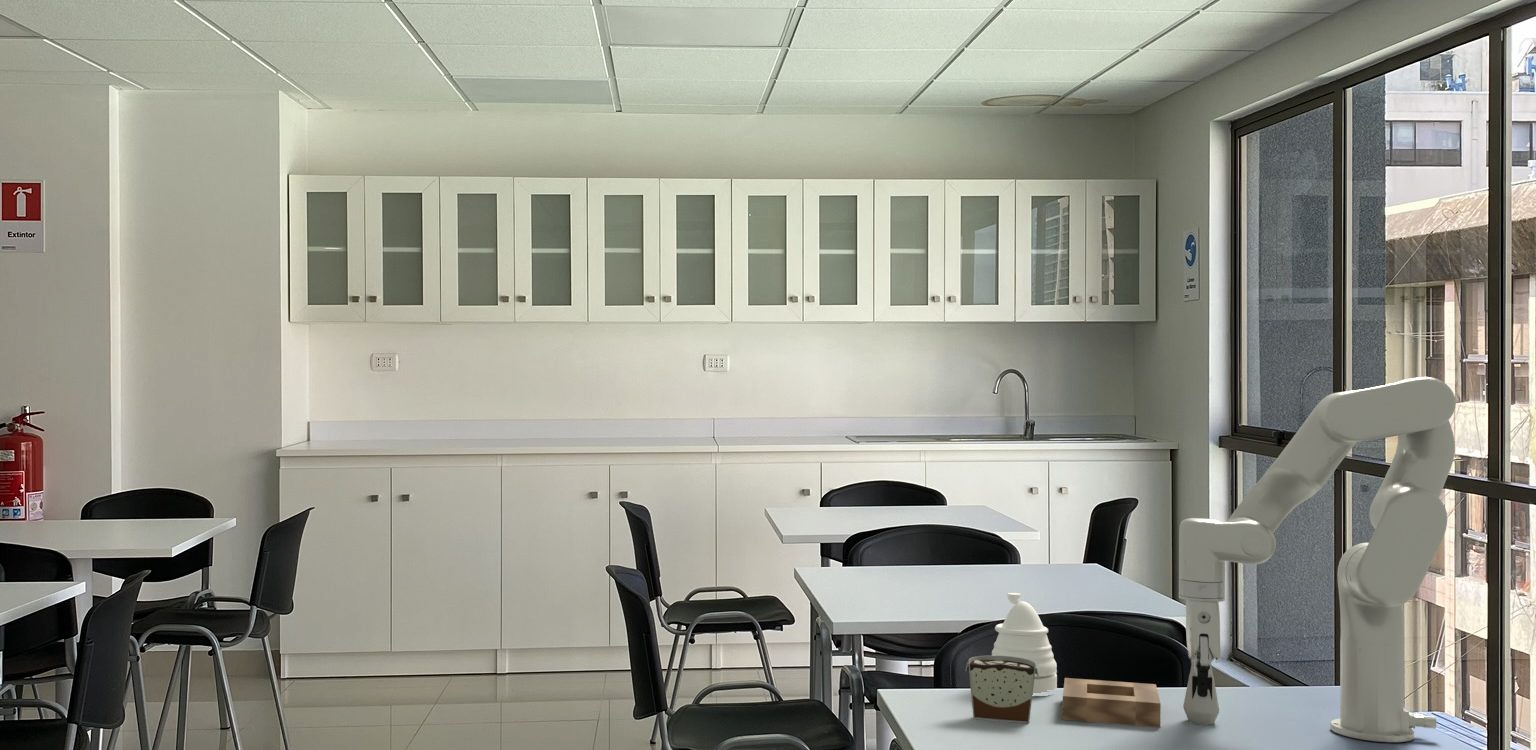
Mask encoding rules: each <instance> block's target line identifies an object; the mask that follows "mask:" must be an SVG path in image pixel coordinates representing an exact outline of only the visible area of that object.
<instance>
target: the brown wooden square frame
mask: <svg viewBox="0 0 1536 750" xmlns="http://www.w3.org/2000/svg"><path fill="white" fill-rule="evenodd" d="M1063 681H1064V683H1063V692H1062V720H1065V721H1076V722H1077V721H1079V722H1087V723H1089V722H1090V723H1099V724H1100V723H1101V724H1112V725H1114V724H1116V725H1125V726H1138V727H1139V726H1141V727H1149V728H1151V727H1152V728H1161V710H1162V709H1161V707H1162V705H1161V700H1160V697H1159V693H1158V687H1157V684H1156V683H1155V684H1154V683H1142V682H1141V683H1140V682H1128V681H1127V682H1126V681H1114V680H1113V681H1112V680H1101V679H1084V678H1073V677H1072V678H1071V677H1070V678H1069V677H1064V680H1063Z"/></svg>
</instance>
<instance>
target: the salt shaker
mask: <svg viewBox="0 0 1536 750" xmlns="http://www.w3.org/2000/svg"><path fill="white" fill-rule="evenodd" d="M1187 654H1188V655H1187V656H1188V658H1189V659H1190V660H1191V666H1190V671H1189V675H1188V681H1187V687H1186V690H1185V691H1186V692H1185V695H1184V699H1183V700H1184V701H1183V706H1182V708H1183V710H1184V713H1185V716H1186V717H1187V720H1188V723H1190V724H1194V725H1195V724H1196V725H1202V726H1204V725H1205V726H1210V725H1214V724H1215V723H1216V720H1217V718H1218V716H1219V713H1220V706H1219V700H1218V699H1219V698H1218V694H1217V689H1216V684H1215V683H1216V682H1215V678H1214V673H1213V672H1214V671H1213V666H1212V664H1211V677H1212V700H1211V696H1210V691H1209V690H1208V694H1207V696H1206V697H1200V696H1199V695H1198V693H1197V687H1196V691H1195V694H1194V697H1193V699H1192V676H1194V659H1193V658H1192V657H1191V656H1190V654H1189V650H1188V649H1187ZM1197 658H1200V655H1198V654H1197ZM1208 659H1209V655H1208ZM1214 659H1215V658H1214V657H1213V655H1212V652H1211V662H1212V661H1214ZM1198 663H1200V662H1198Z"/></svg>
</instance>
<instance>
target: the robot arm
mask: <svg viewBox="0 0 1536 750" xmlns="http://www.w3.org/2000/svg"><path fill="white" fill-rule="evenodd" d="M1456 405H1457V401H1456V396H1455V393H1454V391H1453V390H1452V388H1451V387H1450V386H1449V385H1448V384H1447V383H1445V382H1444V381H1442V380H1441V379H1439V378H1435V377H1429V376H1420V377H1411V378H1405V379H1402V380H1399V381H1396V382H1394V383H1393V382H1392V383H1388V384H1385V385H1379V386H1373V387H1369V388H1364V389H1363V388H1362V389H1356V390H1348V391H1340V392H1339V391H1338V392H1333V393H1331V394H1328V395H1327V396H1325V397H1324V398H1322V399H1321V400H1320V401H1319V402H1318V404H1317V405H1316V406H1315V407H1314V409H1312V411H1311V412H1310V414H1309V415H1308V417H1307V418H1306V419H1305V421H1304V422H1303V423H1302V424H1301V426H1300V427H1299V429H1298V430H1297V431H1296V433H1295V434H1293V437H1292V438H1291V440H1290V441H1289V442H1288V444H1287V445H1285V447H1284V449H1283V450H1282V451H1281V453H1280V454H1279V455H1278V457H1277V458H1276V459H1275V460H1274V461H1273V463H1272V464H1271V465H1270V466H1269V467H1268V468H1267V470H1266V471H1265V472H1264V474H1263V475H1262V476H1261V478H1260V479H1258V481H1257V482H1256V483H1255V484H1254V486H1252V488H1251V489H1250V490H1249V491H1248V493H1247V494H1246V495H1245V497H1244V498H1243V499H1242V500H1241V502H1240V503H1239V505H1238V506H1237V507H1236V508H1235V510H1234V511H1233V512H1232V514H1231V515H1230V516H1229V518H1228V519H1227V521H1226V522H1225V521H1224V522H1222V521H1221V520H1218V519H1215V518H1200V517H1190V518H1185V519H1183V520H1181V522H1180V524H1179V528H1178V529H1179V531H1178V532H1179V535H1178V541H1179V542H1178V543H1179V545H1178V546H1179V547H1178V550H1179V551H1178V598H1179V599H1181V600H1184V601H1185V632H1186V633H1185V634H1186V635H1185V636H1186V647H1187V651H1188V650H1189V654H1190V656H1191V657H1192V658H1193V659H1194V676H1192V699H1193V697H1194V694H1195V691H1196V687H1197V693H1198V695H1199V696H1200V697H1206V696H1207V694H1208V690H1209V691H1210V696H1211V700H1212V677H1211V665H1212V661H1211V652H1212V655H1213V657H1214V659H1215V661H1220V660H1221V658H1222V656H1221V654H1222V653H1221V652H1222V651H1221V621H1220V620H1221V615H1220V612H1221V611H1220V602H1225V601H1226V562H1231V563H1236V564H1237V563H1238V564H1243V565H1250V566H1254V565H1256V566H1257V565H1260V564H1263V563H1265V562H1267V561H1269V560H1270V559H1271V557H1273V555H1274V553H1275V551H1276V547H1277V541H1276V536H1275V535H1274V533H1275V532H1276V530H1277V529H1278V528H1279V526H1280V525H1281V523H1282V522H1284V520H1285V519H1286V517H1288V515H1289V514H1291V512H1292V511H1293V510H1295V509H1296V508H1297V507H1298V506H1299V505H1301V504H1302V503H1304V502H1305V501H1307V500H1308V499H1310V498H1311V497H1314V495H1316V494H1317V493H1318V492H1319V491H1320V490H1322V488H1323V487H1324V486H1325V485H1326V484H1327V482H1328V481H1329V479H1330V478H1331V476H1332V475H1333V474H1334V472H1335V471H1336V469H1337V468H1338V466H1339V465H1340V464H1341V462H1342V461H1343V460H1344V459H1345V457H1346V456H1347V455H1348V454H1349V452H1351V449H1353V447H1354V446H1355V445H1356V443H1360V442H1370V441H1375V440H1382V439H1387V438H1393V437H1397V446H1396V450H1395V453H1394V456H1393V458H1392V460H1391V463H1390V467H1388V469H1387V472H1386V474H1385V477H1384V478H1383V480H1382V482H1381V485H1380V487H1379V489H1378V490H1377V492H1376V494H1375V497H1374V498H1373V500H1372V502H1371V505H1370V507H1369V515H1368V516H1369V521H1370V524H1371V525H1372V528H1373V529H1374V531H1373V533H1372V536H1371V538H1370V540H1369V542H1361V543H1357V544H1355V545H1353V546H1351V547H1350V548H1348V549H1347V550H1346V551H1345V552H1344V553H1343V554H1342V555H1341V557H1340V560H1339V562H1338V566H1337V573H1336V575H1337V578H1336V579H1337V588H1338V598H1339V611H1340V612H1339V614H1340V615H1339V616H1340V637H1339V639H1340V641H1339V642H1340V645H1339V646H1340V648H1339V649H1340V651H1339V652H1340V653H1339V655H1340V663H1339V664H1340V667H1339V668H1340V669H1339V671H1340V672H1339V673H1340V677H1339V678H1340V682H1339V683H1340V684H1339V686H1340V687H1339V688H1340V689H1339V695H1340V699H1339V700H1340V702H1339V704H1340V706H1339V707H1340V711H1339V712H1340V713H1339V714H1340V715H1339V717H1340V718H1339V717H1338V718H1335V719H1332V720H1330V723H1329V727H1330V728H1329V729H1330V730H1332V732H1334V733H1336V734H1339V735H1341V736H1345V737H1347V738H1352V739H1357V740H1362V741H1370V742H1377V743H1403V742H1404V743H1407V742H1410V741H1412V740H1414V739H1415V731H1414V729H1415V728H1416V727H1418V728H1424V729H1434V730H1435V729H1436V728H1437V718H1436V716H1434V715H1433V716H1430V715H1424V714H1422V713H1414V712H1412V713H1411V712H1410V711H1409V710H1407V708H1406V707H1404V706H1405V702H1404V701H1405V700H1404V699H1405V690H1404V689H1405V688H1404V686H1405V679H1404V678H1405V676H1404V675H1405V674H1404V673H1405V671H1404V670H1405V669H1404V668H1405V667H1404V666H1405V663H1404V662H1405V658H1404V657H1405V655H1404V654H1405V651H1404V650H1405V647H1404V646H1405V643H1404V642H1405V628H1404V627H1405V624H1404V612H1403V611H1404V610H1403V605H1405V604H1406V603H1407V602H1409V601H1410V600H1411V599H1412V598H1413V597H1414V596H1415V595H1416V593H1417V592H1418V590H1419V589H1420V587H1421V585H1422V583H1423V581H1424V579H1425V577H1426V575H1427V573H1428V571H1429V570H1430V569H1429V568H1430V567H1431V565H1432V562H1433V560H1434V558H1435V557H1436V555H1437V554H1436V553H1438V550H1439V547H1440V546H1441V543H1442V541H1443V539H1444V536H1445V534H1446V531H1447V526H1448V512H1447V509H1446V507H1445V505H1444V503H1443V501H1442V499H1440V496H1441V493H1442V491H1443V489H1444V486H1445V483H1446V481H1447V478H1448V476H1449V474H1450V471H1451V468H1452V465H1453V463H1454V460H1455V452H1456V441H1455V437H1454V432H1453V428H1452V424H1451V422H1450V419H1451V418H1452V417H1453V414H1454V413H1455V410H1456ZM1197 654H1198V655H1200V658H1197ZM1208 655H1209V659H1208ZM1198 662H1200V663H1198Z"/></svg>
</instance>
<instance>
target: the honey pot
mask: <svg viewBox="0 0 1536 750" xmlns="http://www.w3.org/2000/svg"><path fill="white" fill-rule="evenodd" d="M1006 595H1007V599H1008V601H1009V602H1010V603H1011V604H1013V606H1012V608H1011V609H1010V610H1009V612H1008V613H1007V615H1006V617H1005V619H1004V621H1003V623H999V624H996V625H995V627H994V630H995V631H996V632H997V633H998V634H997V638H996V641H995V642H994V643H993V649H992V650H991V656H1011V657H1018V658H1024V659H1028V660H1031V661H1033V662H1035V663H1036V667H1037V670H1038V675H1039V677H1038V675H1037V674H1035V678H1034V687H1033V693H1041V692H1049V691H1047V690H1054V689H1057V690H1058V684H1057V683H1058V675H1057V673H1058V670H1057V666H1058V665H1057V662H1056V660H1055V658H1054V653H1053V651H1052V648H1053V646H1052V645H1051V644H1050V641H1049V638H1048V635H1047V634H1048V633H1049V628H1048V627H1046V626H1044V624H1043V622H1042V621H1041V618H1040V616H1039V614H1038V612H1037V611H1036V609H1035V608H1034V607H1033V606H1032V605H1031V604H1030V603H1029V602H1028V601H1022V600H1021V596H1022V593H1019V592H1007V594H1006Z"/></svg>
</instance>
